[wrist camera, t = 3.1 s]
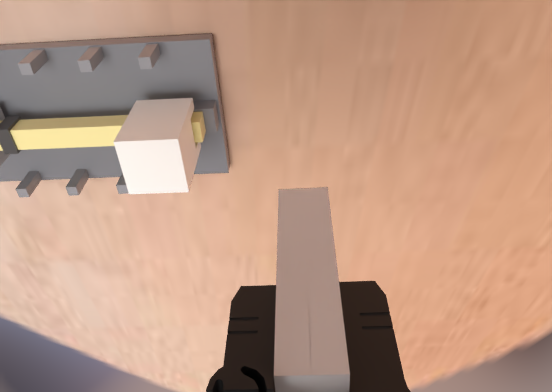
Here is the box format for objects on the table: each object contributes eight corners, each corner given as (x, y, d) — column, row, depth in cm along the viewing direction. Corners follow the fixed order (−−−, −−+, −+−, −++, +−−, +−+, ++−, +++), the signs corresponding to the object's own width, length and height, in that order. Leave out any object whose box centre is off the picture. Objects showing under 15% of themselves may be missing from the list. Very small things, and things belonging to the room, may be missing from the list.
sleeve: (148, 148, 37) (128, 194, 32) (136, 100, 35) (113, 141, 30) (201, 146, 37) (188, 192, 32) (192, 97, 34) (178, 139, 30)
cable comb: (-3, 173, 42) (-32, 209, 38) (-63, 47, 36) (-107, 75, 32) (229, 164, 41) (223, 200, 37) (212, 33, 34) (202, 60, 31)
